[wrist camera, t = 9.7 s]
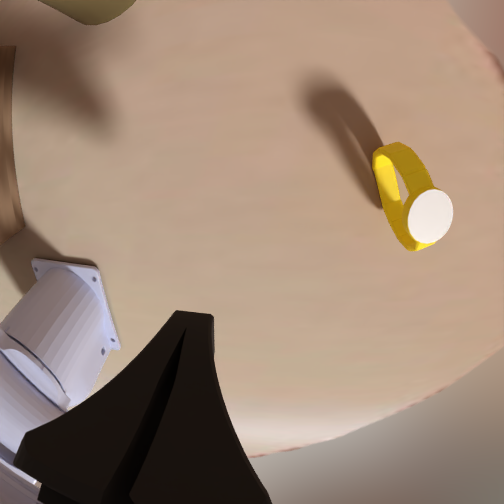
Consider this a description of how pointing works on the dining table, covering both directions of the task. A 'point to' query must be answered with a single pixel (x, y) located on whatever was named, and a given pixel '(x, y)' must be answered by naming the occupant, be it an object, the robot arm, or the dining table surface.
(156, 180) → the dining table surface
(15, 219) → the cabinet
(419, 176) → the watch
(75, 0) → the cork
